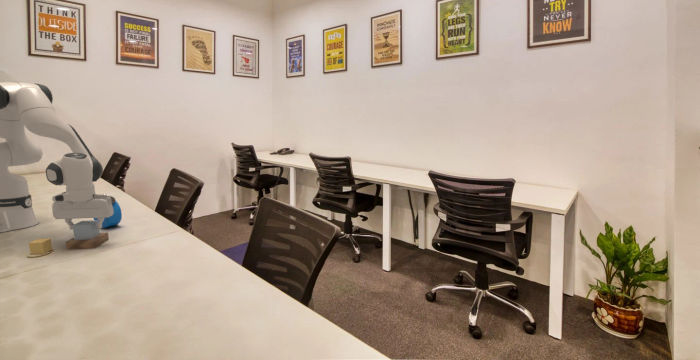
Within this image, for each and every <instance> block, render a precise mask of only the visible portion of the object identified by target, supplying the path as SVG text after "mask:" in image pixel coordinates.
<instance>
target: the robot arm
mask: <svg viewBox="0 0 700 360" xmlns="http://www.w3.org/2000/svg"><path fill="white" fill-rule="evenodd" d="M53 98H54V97H53V92H52V91H51V90H50V88H48V86H46V85H44V84H40V83H29V82H22V81H20V82H19V81H15V82H14V81H13V82H12V81H7V82H6V81H4V82H3V81H2V82H1V81H0V138H1V139H4V140H5V141H2V142H0V233H5V232H10V231H16V230H21V229H25V228H29V227H33V226H36V225H38V224H39V220H38V218H37V217H36V215H35V212H34V209H33V200H32V196H31V194H30V191H29V184H28V179H27V178H25V176H23V175H21V174H17V173H14V172H13V173H12V172H11V171H9V168H8V167H18V166H26V165H27V166H28V165H31V164H35V163H38V162H40V161H41V160H42V158H43V154H44V153H43V150H42V148H41V146H40V145H39V144H37V143H36V142H34V141H32V140H31V139H30V138H29V137H28V136H27V134H26V133H25V131H26V130H28V131H29V132H31V133H32V134H34V135H37V136H40V137H44V138H50V139H54V140H57V141H60V142H62V143H64V144H66V145H67V146H68V147H69V148H70V150H71V152H69V153H65V154H63V156H61V157H62V158H61V159H59V160H57V161H54V162H51V163H49V164H48V165H47V167H46V168H45V175H46V177H45V178H46V180H47V181H48V182H49V183H51V184H52V185H55V186H65V191H63V192H61V193H58V194H56V195H53V196H52V199H51V200H52V201H53V203H52V205H51V207H52V208H51V209H52V211H51V212H52V217H53V218H54V219H55V220H64V222H65V223H66V224H67V225H68V226H69V231H70V230H72V231H73V227H72V225H74V224H75V223H73V219H78V220H79V219H94V218H98V220H99V223H97V224H96V229H97V228H99V229H103V228H102V222H103V221H104V218H107V217H110V216H112V215H113V213H114V211H113V207H112V203H111V202H112V201H111V197H110V196H111V195H108V194H106V193H104V194H103V193H102V194H101V193H99V194H98V193H96V189H95V184H94V182H97V181H98V180H99V179H101V177H102V175H103V172H104V171H103V170H104V169H103V166H102V163H101V162H100V161H99V160H98V159H97V158H96V157H95V155H93V153H92V152H91V151H90V149H89V148H88V146H87V145H86V143H85V142H84V140H83V138H82V137H81V135H80V134H79V132H77V130H76V129H75V128H74V126H72V125H71V124H69V123H67V122H65V120H63V119H62V118H61V117H60V116H59V115H58V113H57V111H56V110H55V108H54V105H53V101H54V99H53ZM107 196H108V197H107Z"/></svg>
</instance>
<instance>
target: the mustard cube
mask: <svg viewBox="0 0 700 360" xmlns="http://www.w3.org/2000/svg"><path fill="white" fill-rule="evenodd" d="M28 249H29V254H30V255H44V253H45V254H46V253H48V252H50V251H52V250H53V245H52V239H51V238H37V239H34V240H32V241H30V242H28Z"/></svg>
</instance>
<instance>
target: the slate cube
mask: <svg viewBox="0 0 700 360" xmlns="http://www.w3.org/2000/svg"><path fill="white" fill-rule="evenodd" d="M97 223H98V220H94V219H91V220H80V221H78V222H76V223H73V224H74V225H72V227H73V229H72V232H73V238H74V240H88V239H93V238H94V237H96V236H98V235H100V233H101V232H100V228H97V229H96V224H97Z"/></svg>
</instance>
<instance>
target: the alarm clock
mask: <svg viewBox="0 0 700 360" xmlns="http://www.w3.org/2000/svg"><path fill="white" fill-rule="evenodd" d="M108 196H110V197H111V201H112V202H111V203H112V207H113V211H114V213H113V215H112V216H110V217H107V218H104V221H103V222H102V228H101V229H106V228H109V227H113V226H117V228H118V227H119V224H120V223H121V222H122V219H123V218H122V216H123V214H122V209H121V206H120V204H119V203H118V201H117V200H116V198H115V197H114V196H112V195H108ZM108 196H107V197H108ZM93 220H98V218H93ZM98 223H99V220H98Z"/></svg>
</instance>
